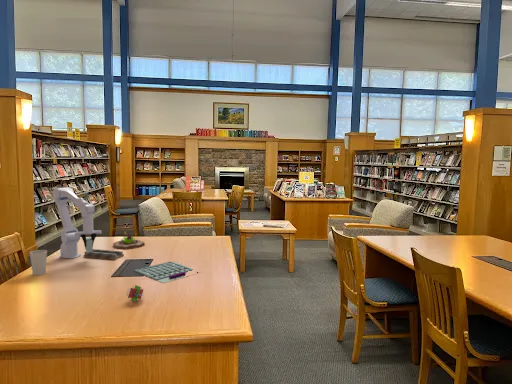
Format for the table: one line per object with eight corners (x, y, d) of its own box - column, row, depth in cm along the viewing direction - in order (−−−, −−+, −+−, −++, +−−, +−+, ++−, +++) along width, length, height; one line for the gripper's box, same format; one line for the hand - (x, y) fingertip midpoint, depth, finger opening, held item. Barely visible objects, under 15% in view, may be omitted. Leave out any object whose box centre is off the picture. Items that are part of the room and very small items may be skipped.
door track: (83, 257, 228) (83, 252, 228) (94, 253, 238) (93, 248, 237) (114, 260, 223) (114, 254, 223) (123, 255, 233) (123, 251, 232)
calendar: (174, 262, 222) (174, 259, 221) (204, 272, 203) (204, 268, 203) (134, 272, 202) (134, 268, 202) (163, 284, 183) (163, 279, 183)
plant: (107, 246, 257) (107, 231, 256) (131, 241, 273) (131, 227, 272) (124, 251, 246) (124, 234, 245) (148, 245, 262) (148, 230, 261)
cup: (28, 273, 195) (27, 251, 194) (45, 270, 201) (44, 249, 200) (33, 277, 190) (32, 254, 188) (50, 273, 195) (49, 251, 194)
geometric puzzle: (141, 290, 166) (132, 279, 162) (150, 294, 162) (140, 283, 158) (130, 303, 162) (120, 292, 158) (139, 307, 158) (129, 296, 154)
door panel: (92, 252, 216) (92, 240, 216) (87, 252, 215) (87, 241, 214) (90, 248, 225) (90, 237, 224) (85, 248, 223) (84, 237, 223)
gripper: (75, 226, 211) (76, 249, 213) (102, 224, 219) (102, 246, 220) (74, 224, 217) (74, 246, 219) (100, 222, 225) (100, 243, 226)
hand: (88, 246), depth 220 cm, fingers closed on door panel, 3 cm apart
